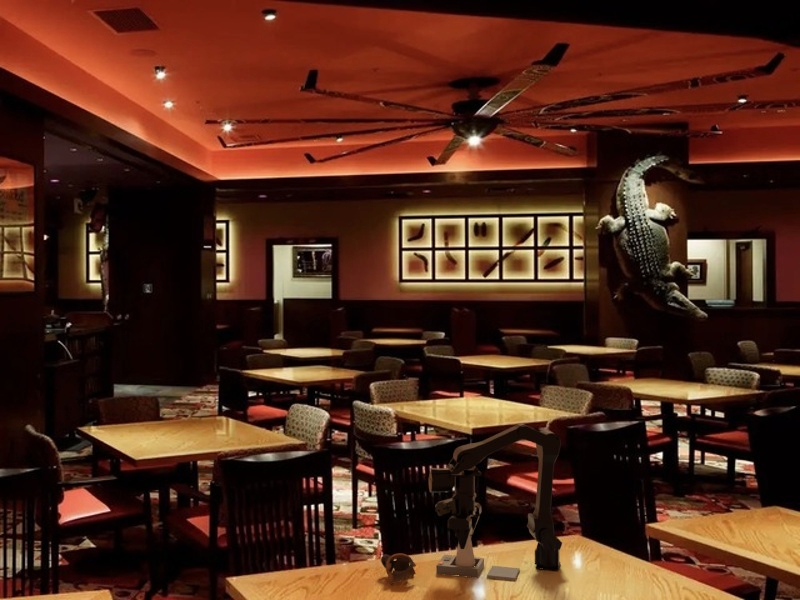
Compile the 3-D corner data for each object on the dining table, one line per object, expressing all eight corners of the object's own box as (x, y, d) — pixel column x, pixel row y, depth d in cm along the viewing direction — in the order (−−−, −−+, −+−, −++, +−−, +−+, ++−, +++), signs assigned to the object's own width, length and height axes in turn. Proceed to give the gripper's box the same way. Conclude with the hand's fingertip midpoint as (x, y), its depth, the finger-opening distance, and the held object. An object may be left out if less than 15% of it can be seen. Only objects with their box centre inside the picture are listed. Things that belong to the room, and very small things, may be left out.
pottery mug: (424, 578, 224) (422, 558, 220) (404, 601, 218) (401, 581, 214) (390, 559, 231) (388, 540, 227) (370, 582, 225) (367, 562, 220)
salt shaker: (474, 574, 225) (473, 529, 225) (454, 573, 226) (453, 528, 226) (476, 567, 231) (476, 523, 231) (456, 566, 232) (456, 522, 232)
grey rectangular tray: (484, 566, 232) (484, 557, 232) (477, 578, 223) (477, 568, 223) (444, 562, 235) (444, 553, 235) (436, 573, 226) (436, 564, 226)
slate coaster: (519, 571, 228) (519, 568, 228) (515, 580, 220) (515, 577, 220) (492, 568, 230) (492, 565, 230) (487, 577, 223) (487, 575, 223)
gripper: (445, 481, 240) (445, 533, 240) (429, 497, 222) (430, 552, 222) (481, 484, 236) (481, 536, 237) (468, 499, 219) (469, 556, 219)
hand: (465, 544), depth 229 cm, fingers open, 7 cm apart
